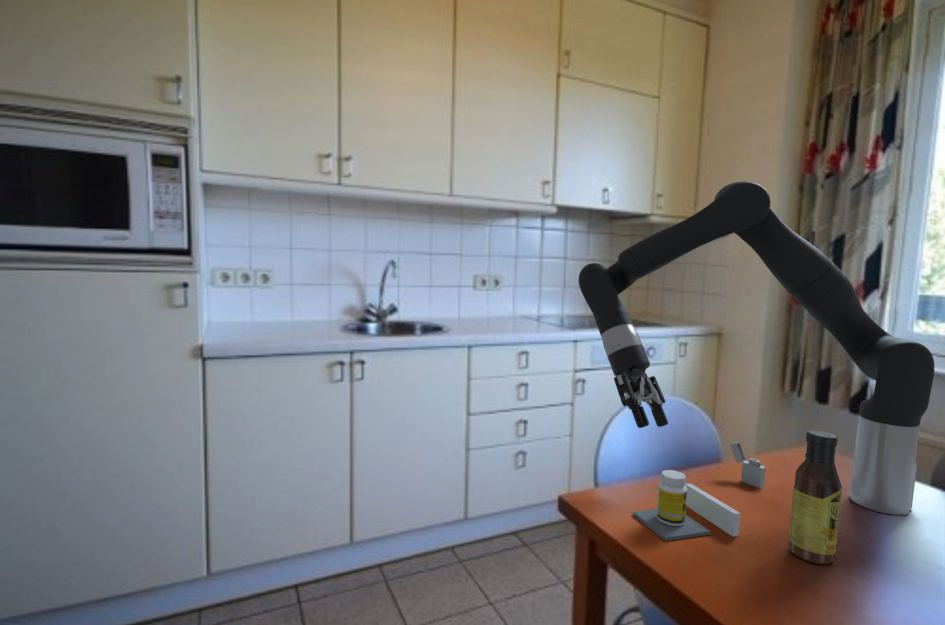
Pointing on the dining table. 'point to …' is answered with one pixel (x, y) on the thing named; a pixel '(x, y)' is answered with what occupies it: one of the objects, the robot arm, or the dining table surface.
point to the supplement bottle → (672, 498)
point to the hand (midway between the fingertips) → (654, 426)
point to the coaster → (671, 532)
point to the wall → (713, 510)
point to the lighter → (749, 467)
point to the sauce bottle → (816, 501)
